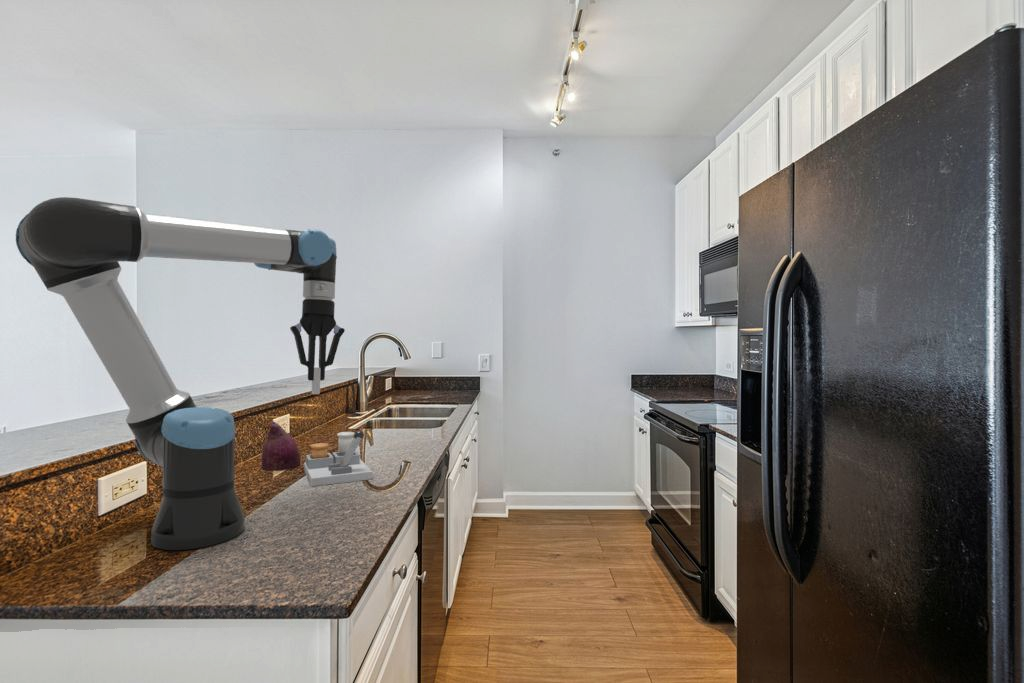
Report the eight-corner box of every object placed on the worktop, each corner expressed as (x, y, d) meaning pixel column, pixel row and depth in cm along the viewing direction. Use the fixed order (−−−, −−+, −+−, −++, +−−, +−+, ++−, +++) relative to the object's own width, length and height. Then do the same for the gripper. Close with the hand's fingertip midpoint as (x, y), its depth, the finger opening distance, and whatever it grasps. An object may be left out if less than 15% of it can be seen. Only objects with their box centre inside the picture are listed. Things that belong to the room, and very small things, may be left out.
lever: (338, 467, 135) (358, 430, 137) (336, 464, 138) (355, 428, 140) (347, 470, 136) (366, 434, 138) (345, 468, 139) (364, 432, 141)
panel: (311, 486, 130) (311, 468, 130) (304, 469, 146) (304, 453, 146) (372, 479, 137) (372, 462, 137) (358, 463, 153) (358, 448, 153)
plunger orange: (311, 465, 140) (311, 447, 140) (309, 461, 144) (309, 443, 144) (329, 463, 142) (329, 445, 142) (327, 460, 146) (327, 442, 146)
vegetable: (276, 483, 143) (267, 434, 139) (255, 473, 149) (246, 425, 144) (309, 466, 152) (302, 420, 147) (288, 457, 157) (280, 412, 153)
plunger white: (338, 453, 143) (338, 435, 143) (336, 450, 147) (336, 432, 147) (355, 451, 145) (355, 433, 145) (352, 448, 149) (352, 431, 149)
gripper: (293, 296, 123) (289, 395, 123) (348, 300, 130) (345, 394, 130) (288, 298, 130) (285, 392, 129) (342, 302, 136) (339, 392, 136)
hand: (315, 393), depth 129 cm, fingers closed
